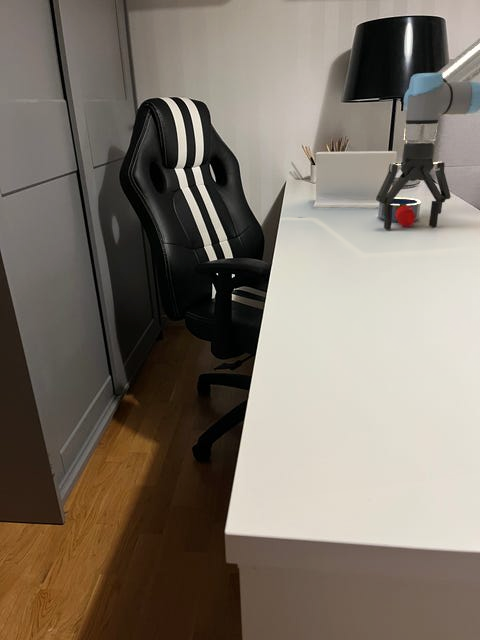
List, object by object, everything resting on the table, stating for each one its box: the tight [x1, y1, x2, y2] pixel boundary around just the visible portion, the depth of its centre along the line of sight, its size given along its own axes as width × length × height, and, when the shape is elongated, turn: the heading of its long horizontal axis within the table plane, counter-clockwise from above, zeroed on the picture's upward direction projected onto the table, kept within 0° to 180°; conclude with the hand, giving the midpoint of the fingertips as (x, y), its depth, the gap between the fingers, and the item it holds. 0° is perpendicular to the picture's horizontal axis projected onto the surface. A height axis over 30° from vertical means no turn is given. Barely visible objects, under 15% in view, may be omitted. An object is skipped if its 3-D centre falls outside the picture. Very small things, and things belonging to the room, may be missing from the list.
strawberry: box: [396, 204, 416, 228], centre depth 135 cm, size 5×5×7 cm
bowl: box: [377, 197, 421, 223], centre depth 144 cm, size 11×11×5 cm
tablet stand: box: [313, 150, 398, 209], centre depth 166 cm, size 18×25×17 cm
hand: (410, 227), depth 133 cm, fingers open, 12 cm apart
